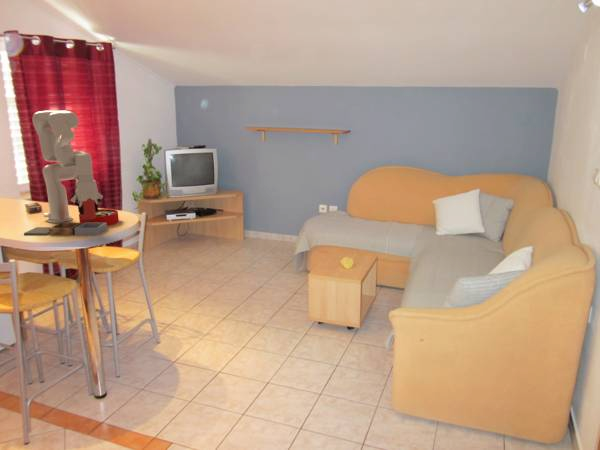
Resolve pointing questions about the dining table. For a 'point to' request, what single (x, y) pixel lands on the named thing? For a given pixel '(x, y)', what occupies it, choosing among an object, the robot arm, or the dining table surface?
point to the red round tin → (103, 217)
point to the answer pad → (38, 231)
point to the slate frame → (90, 228)
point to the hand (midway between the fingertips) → (88, 212)
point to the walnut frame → (64, 229)
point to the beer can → (89, 210)
